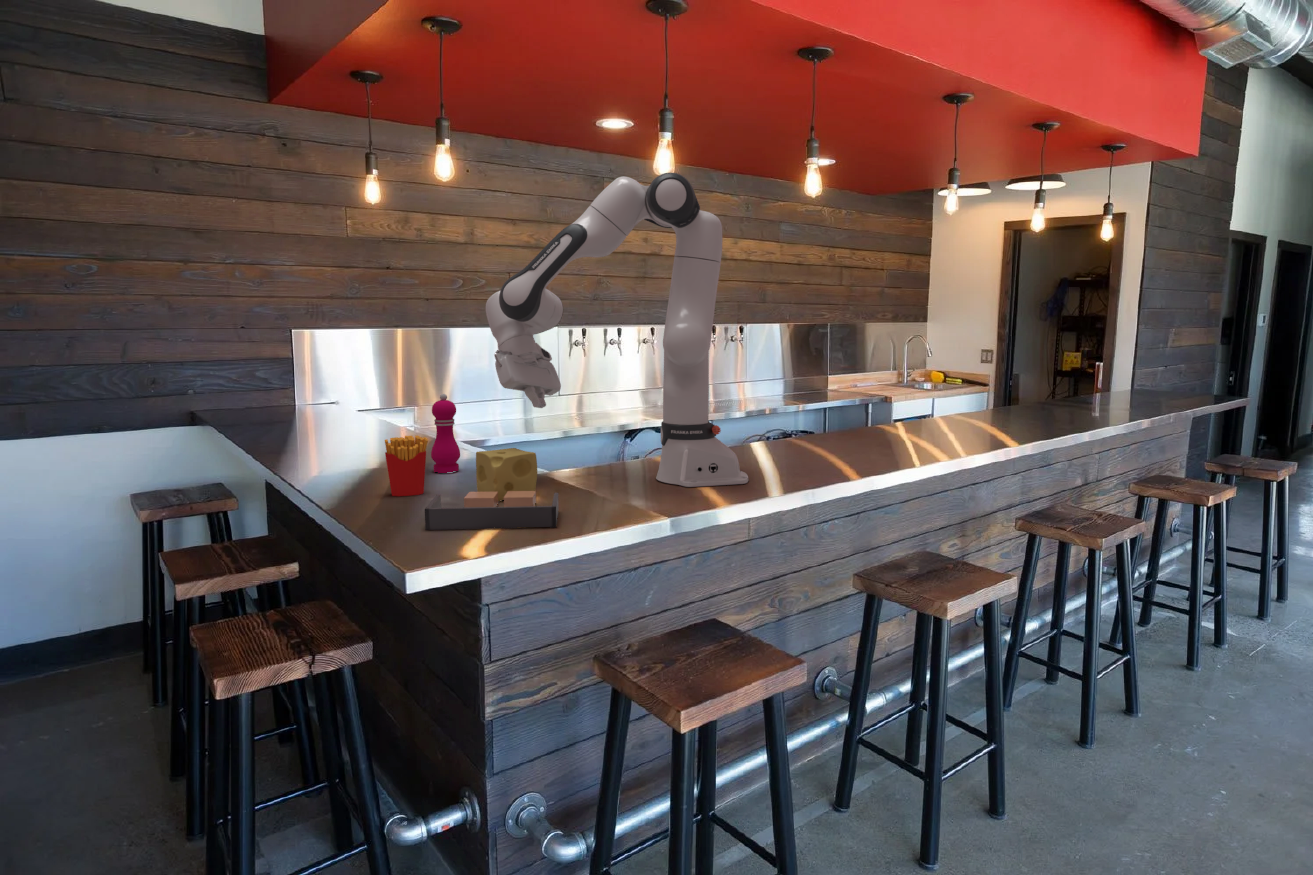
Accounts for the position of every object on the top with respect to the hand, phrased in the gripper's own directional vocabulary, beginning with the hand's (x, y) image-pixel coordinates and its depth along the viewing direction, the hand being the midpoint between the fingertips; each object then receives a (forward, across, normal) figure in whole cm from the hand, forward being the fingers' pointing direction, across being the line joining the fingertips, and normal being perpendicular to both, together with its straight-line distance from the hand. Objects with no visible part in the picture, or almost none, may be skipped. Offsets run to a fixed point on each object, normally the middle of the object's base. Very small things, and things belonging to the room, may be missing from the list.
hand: (540, 406), depth 185 cm
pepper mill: (0, +5, +36) cm, 36 cm away
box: (+26, -27, +3) cm, 38 cm away
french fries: (+9, -18, +30) cm, 36 cm away
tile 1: (+20, -20, +10) cm, 30 cm away
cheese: (+18, -8, +12) cm, 23 cm away
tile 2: (+23, -16, +4) cm, 28 cm away
